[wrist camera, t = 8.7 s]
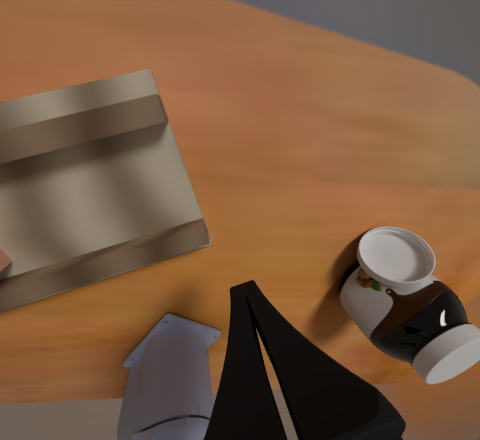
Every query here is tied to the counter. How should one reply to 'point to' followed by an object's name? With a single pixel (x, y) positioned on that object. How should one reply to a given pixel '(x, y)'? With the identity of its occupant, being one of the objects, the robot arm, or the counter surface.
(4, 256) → the block
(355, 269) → the spread jar
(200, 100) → the counter surface
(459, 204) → the counter surface
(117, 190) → the channel
